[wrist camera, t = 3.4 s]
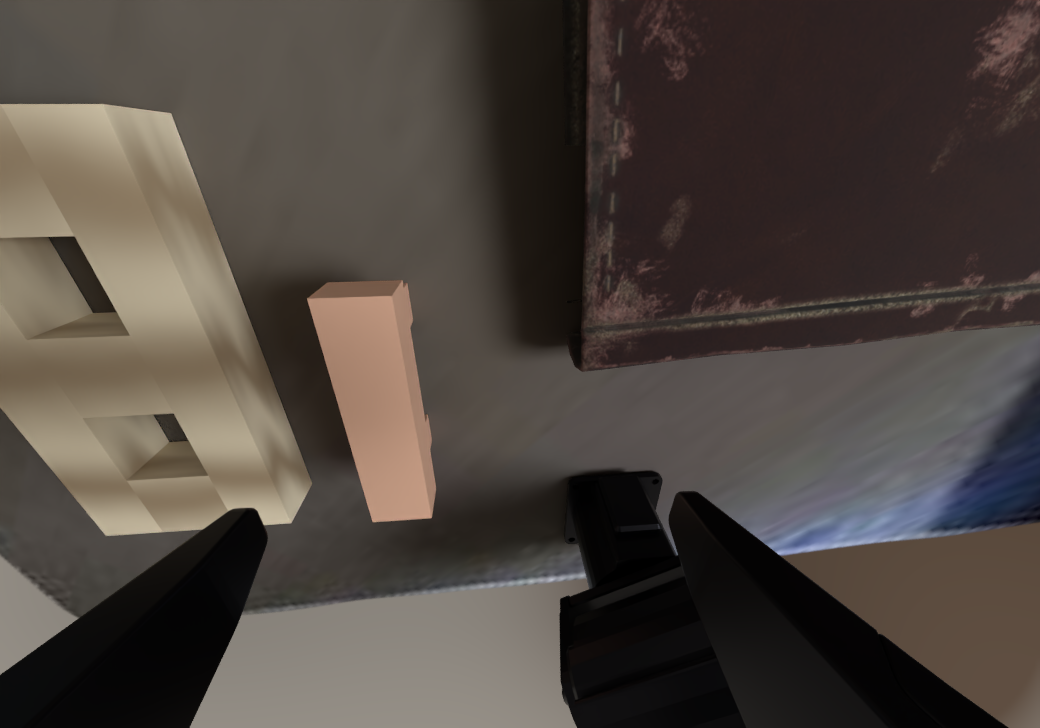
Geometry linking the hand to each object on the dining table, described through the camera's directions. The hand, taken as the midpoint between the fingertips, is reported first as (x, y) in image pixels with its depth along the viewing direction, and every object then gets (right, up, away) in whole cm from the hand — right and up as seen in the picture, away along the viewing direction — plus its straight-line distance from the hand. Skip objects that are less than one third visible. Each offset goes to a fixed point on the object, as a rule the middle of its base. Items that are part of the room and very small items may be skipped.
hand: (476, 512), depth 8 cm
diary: (+15, +14, +9) cm, 23 cm away
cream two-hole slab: (-18, +4, +11) cm, 21 cm away
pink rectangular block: (-6, +3, +13) cm, 14 cm away
